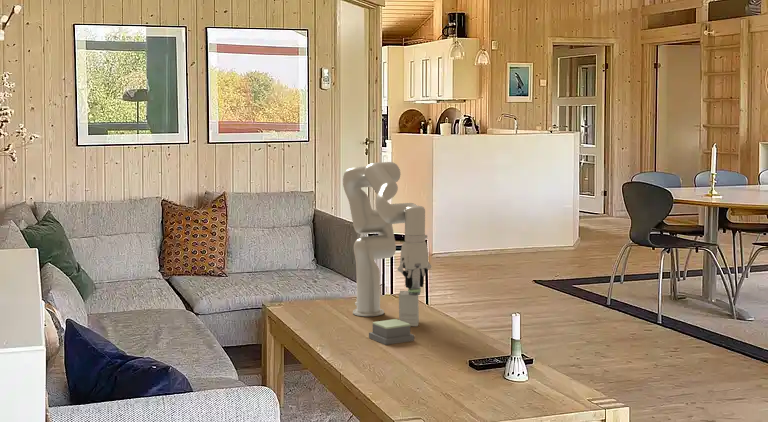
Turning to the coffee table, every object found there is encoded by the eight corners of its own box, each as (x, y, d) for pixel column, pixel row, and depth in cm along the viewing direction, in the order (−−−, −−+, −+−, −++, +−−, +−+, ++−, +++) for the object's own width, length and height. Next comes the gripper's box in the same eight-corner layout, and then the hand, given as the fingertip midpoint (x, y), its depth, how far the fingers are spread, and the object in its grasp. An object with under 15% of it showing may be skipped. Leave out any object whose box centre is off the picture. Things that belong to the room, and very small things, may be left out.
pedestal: (368, 338, 356) (368, 321, 356) (397, 333, 362) (396, 318, 362) (385, 344, 346) (385, 328, 345) (414, 340, 352) (414, 324, 351)
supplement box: (419, 322, 381) (419, 290, 380) (417, 326, 374) (417, 294, 372) (400, 322, 382) (400, 290, 380) (398, 326, 374) (398, 294, 373)
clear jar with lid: (404, 293, 366) (405, 262, 365) (416, 292, 369) (416, 261, 367) (412, 296, 362) (412, 264, 360) (423, 294, 364) (424, 263, 363)
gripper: (428, 235, 370) (427, 283, 372) (390, 239, 361) (389, 287, 364) (439, 238, 363) (438, 286, 366) (400, 242, 355) (400, 291, 357)
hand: (414, 286), depth 365 cm, fingers closed on clear jar with lid, 4 cm apart
